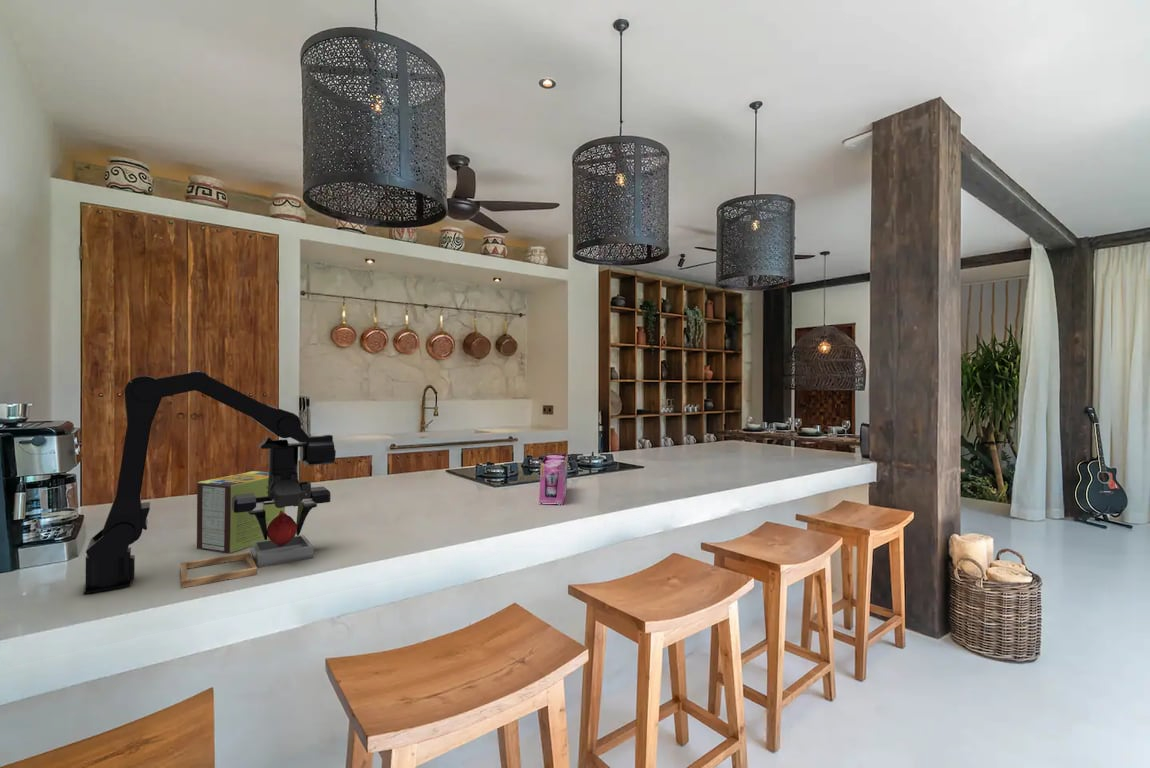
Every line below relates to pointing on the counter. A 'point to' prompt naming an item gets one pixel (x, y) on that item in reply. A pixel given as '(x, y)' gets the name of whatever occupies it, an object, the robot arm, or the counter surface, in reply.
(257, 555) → the dish
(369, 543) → the counter surface
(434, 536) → the counter surface
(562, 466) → the gum box
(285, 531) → the onion
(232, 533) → the protein box
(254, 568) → the brown wooden frame
